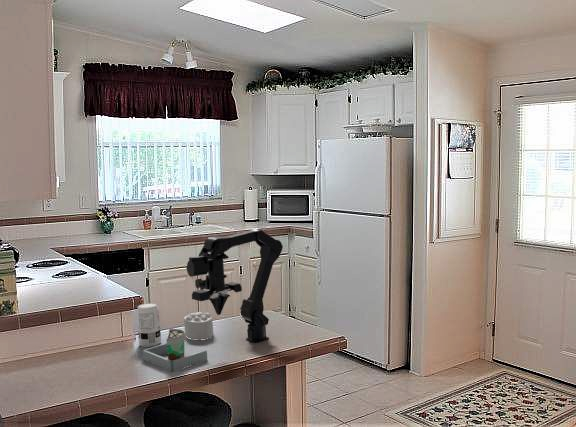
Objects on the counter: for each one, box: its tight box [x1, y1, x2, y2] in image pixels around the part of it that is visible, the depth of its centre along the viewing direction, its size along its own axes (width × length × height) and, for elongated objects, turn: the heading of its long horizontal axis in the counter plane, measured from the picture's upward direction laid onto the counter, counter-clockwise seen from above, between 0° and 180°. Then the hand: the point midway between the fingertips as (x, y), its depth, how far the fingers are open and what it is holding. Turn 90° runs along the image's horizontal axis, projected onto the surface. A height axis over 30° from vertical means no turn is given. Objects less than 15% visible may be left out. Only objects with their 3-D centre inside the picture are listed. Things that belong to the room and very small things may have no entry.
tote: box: [141, 342, 208, 373], centre depth 208 cm, size 14×19×4 cm
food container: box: [166, 328, 187, 361], centre depth 207 cm, size 12×6×10 cm, turn 7°
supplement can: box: [136, 302, 162, 348], centre depth 227 cm, size 8×8×15 cm
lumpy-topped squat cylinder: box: [183, 311, 214, 340], centre depth 235 cm, size 10×13×9 cm
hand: (218, 314), depth 216 cm, fingers closed
